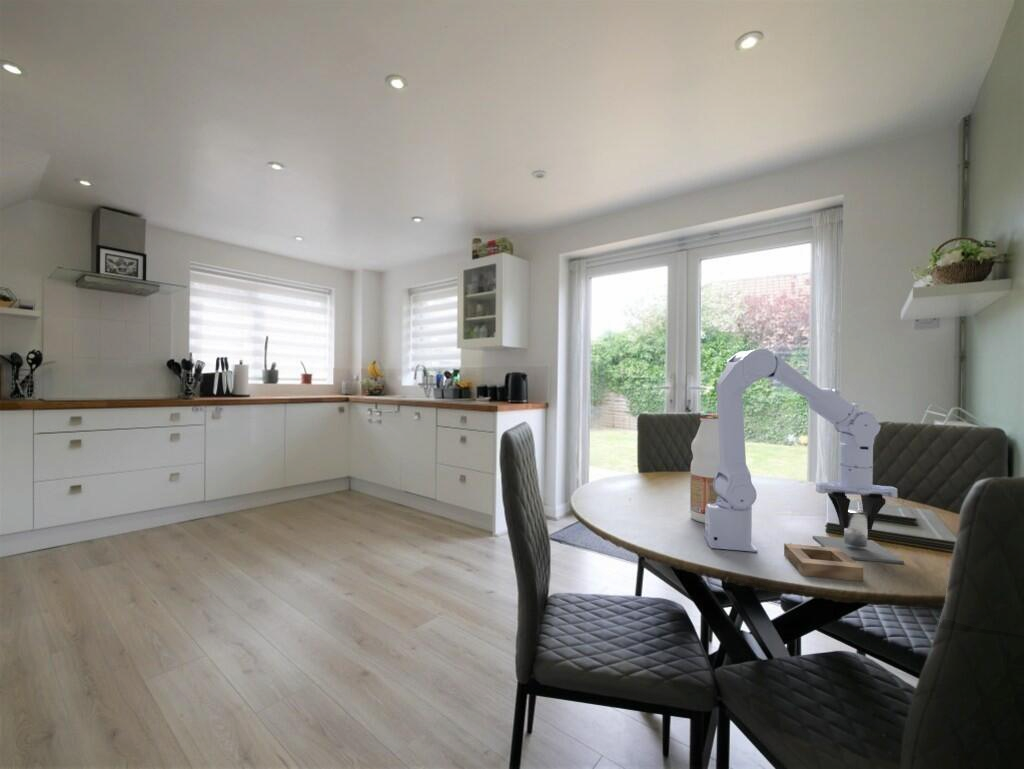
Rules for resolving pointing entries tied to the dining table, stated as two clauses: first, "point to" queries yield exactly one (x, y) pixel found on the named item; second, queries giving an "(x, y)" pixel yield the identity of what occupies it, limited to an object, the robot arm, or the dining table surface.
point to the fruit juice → (704, 466)
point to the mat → (860, 550)
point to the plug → (856, 528)
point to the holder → (823, 562)
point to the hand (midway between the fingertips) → (855, 527)
